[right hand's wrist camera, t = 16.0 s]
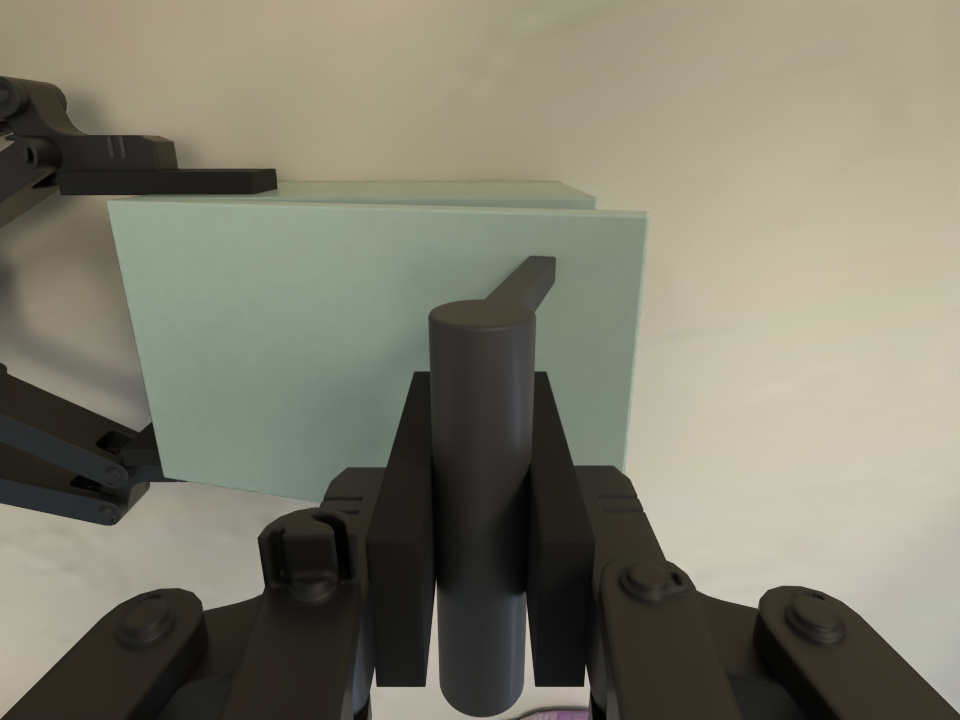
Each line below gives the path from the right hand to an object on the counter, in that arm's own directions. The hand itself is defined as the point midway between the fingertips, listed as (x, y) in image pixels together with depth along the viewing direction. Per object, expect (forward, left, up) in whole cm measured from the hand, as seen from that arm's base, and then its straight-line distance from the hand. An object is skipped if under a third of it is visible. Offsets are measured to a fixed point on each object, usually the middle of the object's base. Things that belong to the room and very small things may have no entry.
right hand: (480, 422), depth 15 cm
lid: (+2, -3, -4) cm, 5 cm away
